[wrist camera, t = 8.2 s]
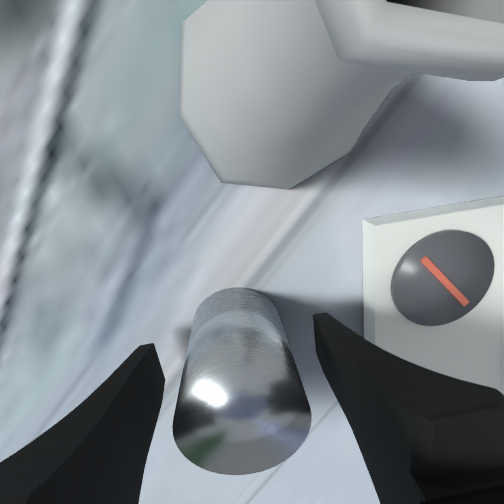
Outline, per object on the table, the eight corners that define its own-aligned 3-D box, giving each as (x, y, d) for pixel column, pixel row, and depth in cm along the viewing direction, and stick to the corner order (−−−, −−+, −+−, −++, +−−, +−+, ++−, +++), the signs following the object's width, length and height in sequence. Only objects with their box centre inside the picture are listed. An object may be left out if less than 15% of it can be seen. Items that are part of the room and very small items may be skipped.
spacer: (284, 354, 15) (316, 460, 10) (201, 370, 15) (189, 485, 10) (274, 280, 14) (305, 358, 8) (183, 296, 13) (156, 385, 8)
